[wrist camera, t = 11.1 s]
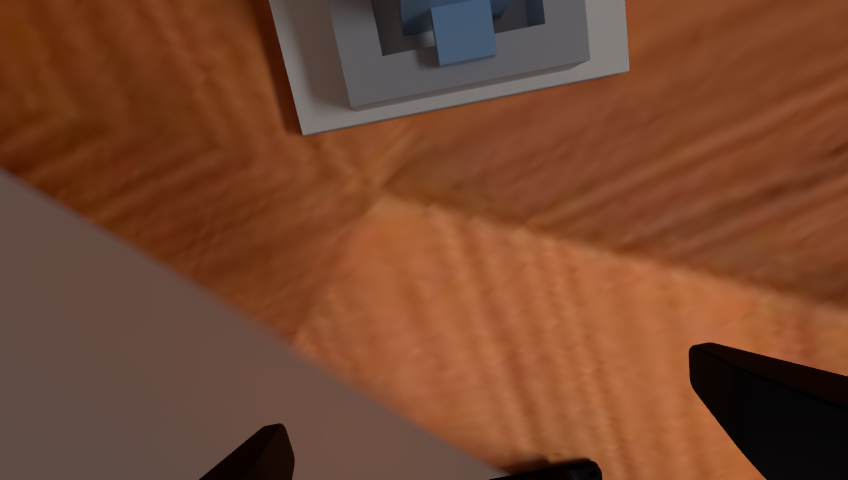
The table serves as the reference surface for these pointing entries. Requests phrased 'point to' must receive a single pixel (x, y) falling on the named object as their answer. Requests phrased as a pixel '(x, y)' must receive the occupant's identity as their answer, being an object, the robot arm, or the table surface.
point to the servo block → (454, 26)
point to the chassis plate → (435, 57)
